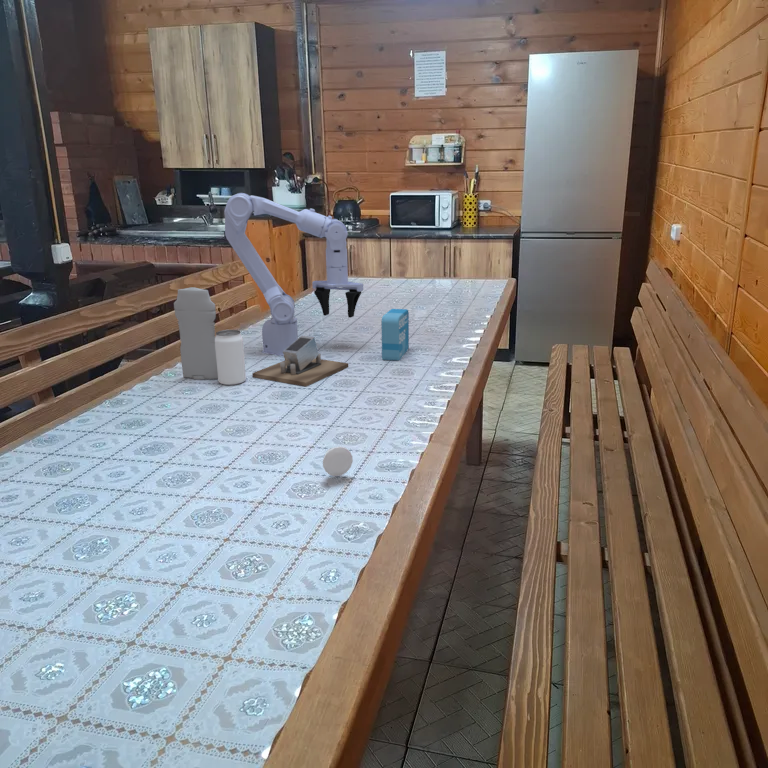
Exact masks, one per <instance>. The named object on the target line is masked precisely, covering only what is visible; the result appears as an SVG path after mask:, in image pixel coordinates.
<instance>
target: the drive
mask: <svg viewBox="0 0 768 768" xmlns="http://www.w3.org/2000/svg"><path fill="white" fill-rule="evenodd" d="M283 354H284V356H283V358H284V361H285V362H286V366H287V369H290V364H295V368H296V371H301V370H302V369H304V368H305V367H306V366H307V365H308V364H309V363H310V362H311V361H312V360H314V359H315V358H316V357H317V356H318V355H319V354H320V353H319V351H318V346H317V341H316V338H315V337H314V336H306V335H300V337H299V336H298V339H297V340H296V341H295V342H293V343H292V344H291V345H290V346H289V347H287V348H286V349H285V350H284V351H283ZM290 370H291V369H290Z"/></svg>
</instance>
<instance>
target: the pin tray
mask: <svg viewBox="0 0 768 768" xmlns="http://www.w3.org/2000/svg"><path fill="white" fill-rule="evenodd" d="M318 354H319V355H318V356H317V357H316V358H315V359H314V360H312V361H311V362H310V363H309V364H308V365H307V366H306V367H305V368H304V369H302V370H301V371H296V368H295V364H290V369H291V370H290V369H287V366H286V362H285V360H281V362H278V363H275V364H272V365H270V366H266V367H265V368H261V369H259V370H257V371H255V372H252V378H256V379H261V380H267V381H272V382H277V383H278V382H279V383H283V384H290V385H296V386H300V387H308V386H310V385H312V384H315V383H317V382H320V381H322V380H324V379H326V378H328V377H330V376H332V375H334V374H337V373H339V372H342V371H343V370H345V369H348V368H349V363H347V362H342V361H334V360H329V359H322V356H321V353H318Z"/></svg>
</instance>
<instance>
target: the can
mask: <svg viewBox="0 0 768 768" xmlns="http://www.w3.org/2000/svg"><path fill="white" fill-rule="evenodd" d="M243 339H244V338H243V336H242V334H241V330H237V329H223V330H219V331H215V351H216V362H217V372H218V379H217V381H218V383H219V384H221V385H224V386H235V385H240V384H243V383H245V381H246V380H247V375H246V373H247V371H246V363H245V362H246V361H245V349H244V340H243Z"/></svg>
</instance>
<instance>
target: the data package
mask: <svg viewBox="0 0 768 768" xmlns="http://www.w3.org/2000/svg"><path fill="white" fill-rule="evenodd" d="M409 313H410V312H409V309H407V308H406V309H405V308H391V309H390V310H388V311H387V312H386V313H384V315H382V317H381V320H380V321H381V358H382V360H383V361H398V362H399V361H400V360H401V359H402V358H403V357H404V355H405V354H406V353H407V351H408V350H409V346H410V345H409V343H410V342H409V340H410V339H409V338H410V337H409V335H410V332H409V331H410V328H409V327H410V323H409V322H410V320H409V318H410V315H409Z"/></svg>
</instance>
